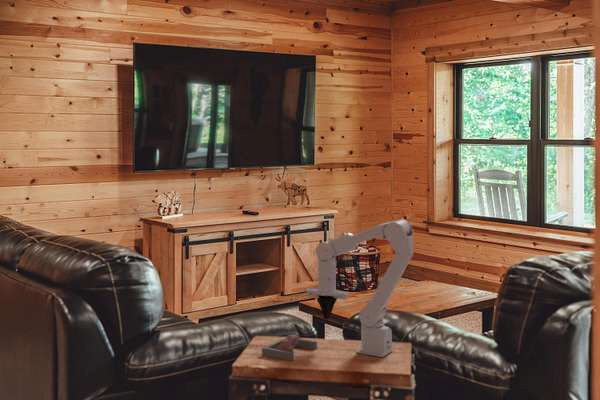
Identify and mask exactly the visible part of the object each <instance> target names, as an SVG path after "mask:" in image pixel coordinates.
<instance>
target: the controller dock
mask: <svg viewBox="0 0 600 400" xmlns="http://www.w3.org/2000/svg"><path fill="white" fill-rule="evenodd" d="M285 339H286V337H284V338H281V339H279V340H277V341H275V342H272V343H270V344H268V345H266V346H263V347H261V356H262V357H269V358H272V359H278V360H283V361H288V362H293V361H295V360H294V359H295V352H294V351H283V350H278V349H275V348H276V347H278V346H279V345H280V344H281V343H282V342H283V341H284V340H285ZM295 347H299V348H304V349H309V350H310V349H311V350H314V351H315V350H318V341H317V340H311V339H306V338H300V339H299V341H298V343H297V344H296V345H295Z"/></svg>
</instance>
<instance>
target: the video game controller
mask: <svg viewBox="0 0 600 400" xmlns="http://www.w3.org/2000/svg"><path fill="white" fill-rule="evenodd" d="M285 338H286V339H285V340H284V341H283V342H282V343H281V344H280V345H279V346H278V347H276V348H275V349H278V350H283V351H289V352H293V350H294V348H295V347H296V346H295V345H296V344H297V343H298V341H299V339H300V336H299V335H296V334H294V333H293V334H288V335H286V337H285Z"/></svg>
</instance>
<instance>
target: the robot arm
mask: <svg viewBox="0 0 600 400" xmlns="http://www.w3.org/2000/svg"><path fill="white" fill-rule="evenodd" d="M414 233H415V232H414V229H413V227H412V225H411V223H410V222H409V221H408V220H406V219H402V218H401V219H397V220H395V221H388V222H384V223H380V224H377V225H374V226H372V227H370V228H368V229H364V230H363V231H360V232H358V233H355V234H353V233H352V232H347V233H346V232H345V231H344V232H342V233H340V236H336V237H334V238H333V237H331V238H328V240H326V241H323V242H320V243H319V244H318V245H317V246H316V247H315V255H316V257H317V262H318V264H317V266H318V267H317V268H318V269H317V270H318V271H317V273H318V275H317V277H318V279H317V280H318V282H317V283H318V286H317V288H306V296H315V297H317V298H316V301H317V303H318V305H319V307H320V309H321V312H322V315H323V319H324V320H330V319H331V317H332V316H331V315H332V312H333V309H334V306H335V304H336V302H337V300H338V299H340V300H344V301H345V300H348V299H349V292H344V291H340V290H336V289H337V287H336V286H337V281H336V278H337V277H336V275H337V273H336V272H337V271H336V267H337V265H336V264H337V263H336V257H337V256H340V255H344V254H347V253H349V252H350V251H353V250H356V249H357V246H358V244H360V243H363V242H366V241H370V240H373V239H375V238H380V239H383V240H385V239H386V240H387V242H388V243H389V244H390V245H391V247H392V248H393V251H394V256H393V259H392V260H391V262H390V263H389V265H388V267H387V269H386V271H385V273H384V275H383V277H382V279H381V281H380V283H379V284H378V286H377V288H376V290H375V292H374V294H373V296H372V297H371V298H370V299H369V301H368V302H367V304H366V305H365V307H363V308H361V309H360V311H359V313H358V319H359V322H360V323H361V327H360V328H361V335H360V336H361V338H360V340H361V348H360V349H357V350H356V352H355V353H357V354H363V355H367V356H374V357H380V358H384V357H385V356H387V355H388V354H390V353H392V352H393V351H394V349H393V333H392V332H393V331H392V329H391V327H390V326H386V325H385V322H384V320H383V319H384V318H385V316H386V314H387V307H388V306H389V300H390V299H391V296H392V294H393V293H394V290H395V289H396V287H397V285H398V284H399V281H400V279H401V278H402V276H403V274H404V272H405V271H406V268H407V266H408V265H409V264H410V261H411V259H412V258H413V256H414Z"/></svg>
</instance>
